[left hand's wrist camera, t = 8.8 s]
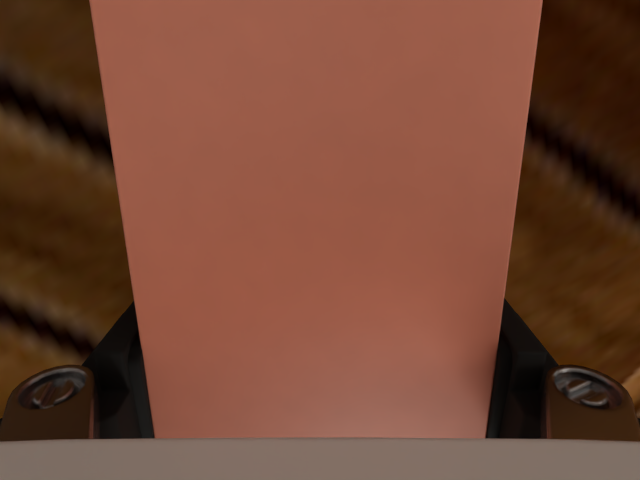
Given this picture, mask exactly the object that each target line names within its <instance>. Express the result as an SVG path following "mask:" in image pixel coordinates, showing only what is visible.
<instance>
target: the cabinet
mask: <svg viewBox="0 0 640 480" xmlns="http://www.w3.org/2000/svg"><path fill="white" fill-rule="evenodd" d="M89 1H90V8H91V14H92V21H93V28H94V35H95V41H96V48H97V55H98V61H99V68H100V75H101V81H102V88H103V95H104V102H105V108H106V115H107V122H108V128H109V135H110V142H111V148H112V155H113V162H114V169H115V175H116V182H117V189H118V195H119V202H120V209H121V215H122V222H123V229H124V236H125V242H126V249H127V256H128V262H129V269H130V276H131V283H132V289H133V296H134V303H135V309H136V316H137V323H138V329H139V336H140V343H141V349H142V352H143V359H144V366H145V373H146V380H147V388H148V395H149V402H150V409H151V416H152V423H153V430H154V437H155V438H261V437H380V438H486V431H487V424H488V417H489V410H490V402H491V395H492V388H493V380H494V372H495V364H496V357H497V349H498V341H499V333H500V326H501V318H502V310H503V303H504V295H505V287H506V279H507V272H508V264H509V256H510V249H511V241H512V233H513V225H514V218H515V210H516V202H517V195H518V187H519V179H520V171H521V164H522V156H523V148H524V141H525V133H526V125H527V117H528V110H529V102H530V94H531V87H532V79H533V71H534V63H535V56H536V48H537V40H538V32H539V25H540V17H541V9H542V2H543V0H89Z"/></svg>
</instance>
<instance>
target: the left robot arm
mask: <svg viewBox="0 0 640 480" xmlns="http://www.w3.org/2000/svg"><path fill="white" fill-rule="evenodd" d="M0 480H640V419H639V418H637V415H636V412H635V408H634V405H633V401H632V398H631V397H630V395H629V393H628V391H627V390H626V389H625V388H624V387H623V386H622V385H621V384H620V383H618V382H617V381H615V380H614V379H612V378H611V377H609V376H607V375H605V374H603V373H601V372H599V371H597V370H593V369H590V368H587V367H583V366H577V365H560V366H559V365H558V364H557V363H556V361H555V360H554V359H553V358H552V356H551V355H550V354H549V353H548V351H547V350H546V349H545V348H544V346H543V345H542V344H541V343H540V341H539V340H538V339H537V338H536V336H535V335H534V334H533V333H532V331H531V330H530V329H529V328H528V326H527V325H526V324H525V323H524V321H523V320H522V319H521V318H520V316H519V315H518V314H517V313H516V312H515V311H514V310H513V308H512V307H511V306H510V305H509V303H508V302H507V301H506V300H505V298H504V303H503V310H502V318H501V326H500V333H499V341H498V349H497V357H496V364H495V372H494V380H493V388H492V395H491V402H490V410H489V417H488V424H487V431H486V438H380V437H261V438H155V437H154V430H153V423H152V416H151V409H150V402H149V395H148V388H147V380H146V373H145V366H144V359H143V352H142V349H141V343H140V336H139V329H138V323H137V316H136V309H135V303H134V301H133V303H132V304H131V305H130V306H129V308H128V309H127V310H126V311H125V312H124V313H123V314H122V316H121V317H120V318H119V319H118V321H117V322H116V323H115V324H114V326H113V327H112V328H111V329H110V331H109V332H108V333H107V334H106V336H105V337H104V338H103V339H102V341H101V342H100V343H99V344H98V346H97V347H96V348H95V349H94V351H93V352H92V353H91V354H90V356H89V357H88V358H87V359H86V361H85V362H84V363H83V364H82V366H80V365H63V366H57V367H53V368H50V369H47V370H43V371H41V372H39V373H37V374H35V375H33V376H31V377H29V378H28V379H26V380H25V381H23V382H22V383H20V384H19V385H18V386H17V387H16V388H15V389H14V390H13V391H12V393H11V395H10V397H9V398H8V401H7V405H6V408H5V412H4V415H3V418H1V419H0Z"/></svg>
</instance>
